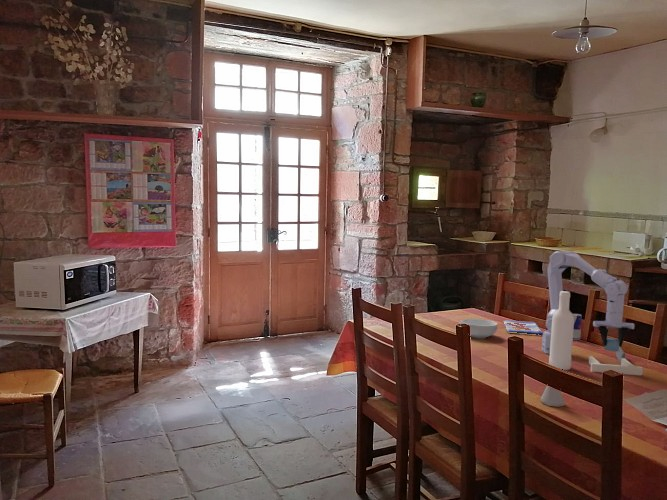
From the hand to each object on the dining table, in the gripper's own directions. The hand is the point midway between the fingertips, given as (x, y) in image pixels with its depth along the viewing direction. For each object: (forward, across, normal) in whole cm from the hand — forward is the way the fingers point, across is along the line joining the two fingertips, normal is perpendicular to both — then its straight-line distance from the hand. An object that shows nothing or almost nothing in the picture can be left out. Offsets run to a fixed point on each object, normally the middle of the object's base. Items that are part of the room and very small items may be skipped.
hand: (611, 345), depth 209 cm
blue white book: (+10, -23, +58) cm, 63 cm away
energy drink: (+9, -2, +44) cm, 45 cm away
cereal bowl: (+9, -47, +37) cm, 60 cm away
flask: (+9, -32, -45) cm, 56 cm away
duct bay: (+9, 0, 0) cm, 9 cm away
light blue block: (+2, 0, 0) cm, 2 cm away
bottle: (+9, -20, -4) cm, 22 cm away
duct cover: (+9, +7, +11) cm, 16 cm away
